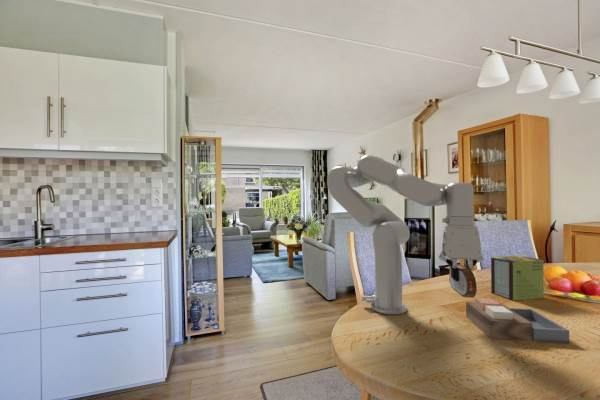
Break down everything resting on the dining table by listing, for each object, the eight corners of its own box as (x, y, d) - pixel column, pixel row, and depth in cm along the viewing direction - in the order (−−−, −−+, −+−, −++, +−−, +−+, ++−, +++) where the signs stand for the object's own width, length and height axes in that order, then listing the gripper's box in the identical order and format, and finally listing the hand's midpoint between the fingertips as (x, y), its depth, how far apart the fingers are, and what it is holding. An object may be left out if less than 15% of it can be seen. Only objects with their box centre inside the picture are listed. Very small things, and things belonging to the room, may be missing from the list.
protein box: (544, 298, 118) (544, 259, 118) (513, 301, 114) (512, 261, 114) (519, 290, 128) (519, 254, 128) (490, 292, 125) (490, 256, 125)
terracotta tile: (482, 309, 92) (482, 303, 92) (475, 304, 97) (475, 298, 97) (499, 310, 91) (499, 304, 91) (491, 304, 96) (491, 298, 96)
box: (533, 341, 82) (533, 328, 82) (502, 318, 98) (502, 307, 98) (569, 343, 81) (569, 330, 81) (531, 319, 97) (531, 308, 97)
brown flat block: (490, 338, 84) (490, 321, 84) (466, 316, 99) (466, 301, 99) (532, 340, 82) (532, 323, 82) (501, 318, 98) (501, 303, 98)
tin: (477, 301, 84) (478, 272, 84) (465, 300, 85) (467, 271, 85) (456, 286, 99) (457, 262, 99) (446, 285, 100) (448, 261, 100)
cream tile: (494, 318, 85) (493, 311, 85) (485, 312, 90) (485, 305, 90) (512, 319, 85) (512, 312, 85) (503, 312, 90) (503, 306, 90)
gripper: (436, 222, 89) (438, 283, 89) (494, 222, 87) (495, 284, 87) (429, 221, 97) (430, 276, 97) (482, 221, 95) (483, 277, 95)
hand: (461, 279), depth 92 cm, fingers closed on tin, 2 cm apart
